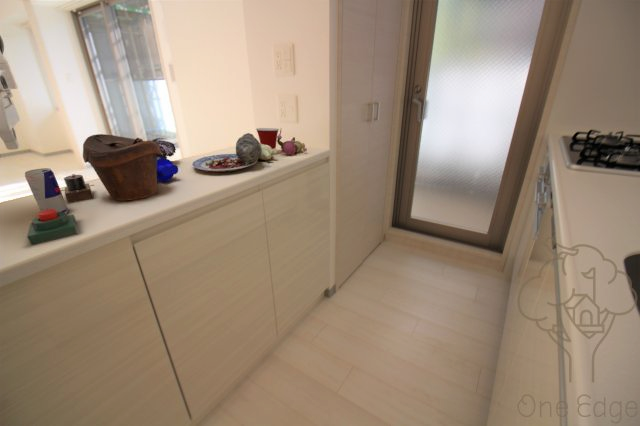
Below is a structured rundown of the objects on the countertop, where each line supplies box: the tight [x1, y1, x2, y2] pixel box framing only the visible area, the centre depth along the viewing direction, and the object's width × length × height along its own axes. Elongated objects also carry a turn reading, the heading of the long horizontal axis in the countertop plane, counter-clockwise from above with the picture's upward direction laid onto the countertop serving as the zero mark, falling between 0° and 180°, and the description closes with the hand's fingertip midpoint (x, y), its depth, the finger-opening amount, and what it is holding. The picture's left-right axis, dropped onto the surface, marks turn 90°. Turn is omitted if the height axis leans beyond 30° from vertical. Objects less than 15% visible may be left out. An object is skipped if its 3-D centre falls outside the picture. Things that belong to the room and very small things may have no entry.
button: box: [37, 209, 58, 221], centre depth 66 cm, size 3×3×2 cm
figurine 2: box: [276, 136, 296, 152], centre depth 145 cm, size 8×8×6 cm
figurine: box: [277, 129, 308, 157], centre depth 138 cm, size 11×13×15 cm
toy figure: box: [157, 158, 179, 183], centre depth 103 cm, size 9×10×15 cm
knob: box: [63, 173, 87, 190], centre depth 87 cm, size 4×4×4 cm
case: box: [82, 133, 164, 201], centre depth 87 cm, size 18×20×18 cm
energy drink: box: [24, 167, 69, 214], centre depth 75 cm, size 5×5×12 cm
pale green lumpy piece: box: [257, 144, 278, 161], centre depth 129 cm, size 13×7×15 cm
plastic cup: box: [255, 127, 280, 149], centre depth 138 cm, size 11×11×12 cm
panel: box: [60, 183, 95, 204], centre depth 88 cm, size 9×9×3 cm
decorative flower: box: [151, 137, 177, 159], centre depth 120 cm, size 15×12×15 cm
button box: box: [26, 212, 78, 246], centre depth 67 cm, size 8×8×4 cm
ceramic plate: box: [191, 153, 258, 173], centre depth 119 cm, size 26×26×3 cm
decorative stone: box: [235, 132, 262, 163], centre depth 118 cm, size 22×10×10 cm
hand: (14, 148), depth 64 cm, fingers closed
